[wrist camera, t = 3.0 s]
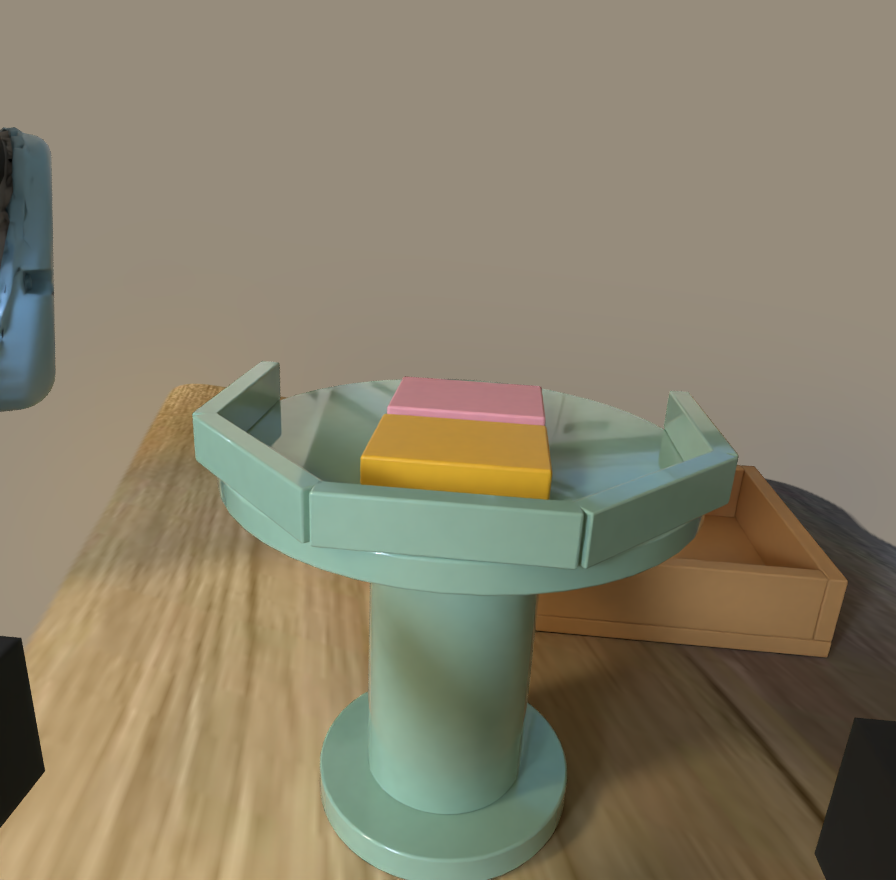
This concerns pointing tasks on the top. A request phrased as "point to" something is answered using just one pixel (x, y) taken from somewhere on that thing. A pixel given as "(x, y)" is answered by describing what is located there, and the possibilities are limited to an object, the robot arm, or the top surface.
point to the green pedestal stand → (455, 599)
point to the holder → (720, 585)
